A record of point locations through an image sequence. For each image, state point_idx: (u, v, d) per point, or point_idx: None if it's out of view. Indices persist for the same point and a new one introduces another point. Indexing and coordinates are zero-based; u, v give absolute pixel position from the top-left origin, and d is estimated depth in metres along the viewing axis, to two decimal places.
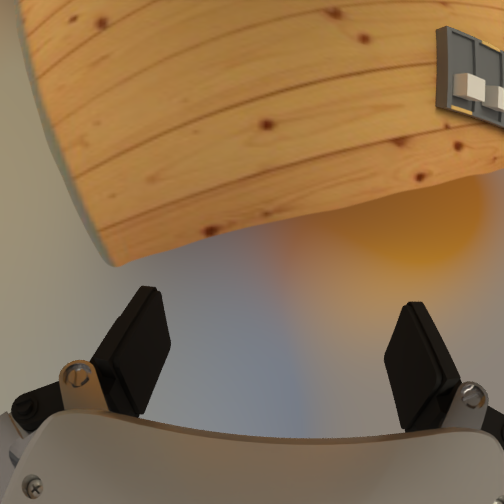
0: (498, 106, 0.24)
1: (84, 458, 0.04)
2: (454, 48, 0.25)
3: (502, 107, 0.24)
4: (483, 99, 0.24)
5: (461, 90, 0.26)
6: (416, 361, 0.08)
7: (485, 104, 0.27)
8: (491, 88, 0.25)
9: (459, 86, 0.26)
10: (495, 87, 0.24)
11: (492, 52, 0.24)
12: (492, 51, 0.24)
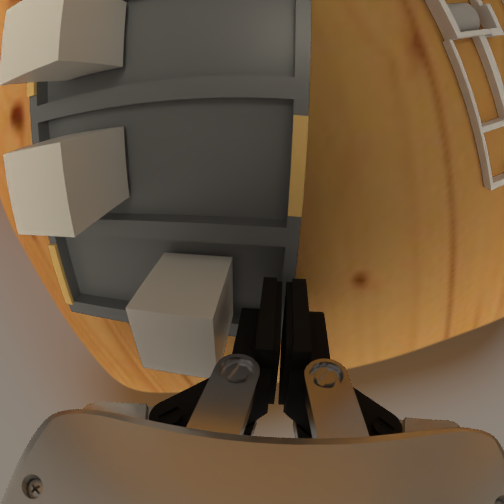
0: (6, 157, 0.07)
1: (84, 458, 0.04)
2: (229, 1, 0.08)
3: (10, 178, 0.07)
4: (4, 77, 0.06)
5: None
6: (284, 334, 0.10)
7: (57, 137, 0.10)
8: (82, 135, 0.08)
9: None
10: (69, 139, 0.07)
11: (280, 185, 0.11)
12: (284, 185, 0.11)
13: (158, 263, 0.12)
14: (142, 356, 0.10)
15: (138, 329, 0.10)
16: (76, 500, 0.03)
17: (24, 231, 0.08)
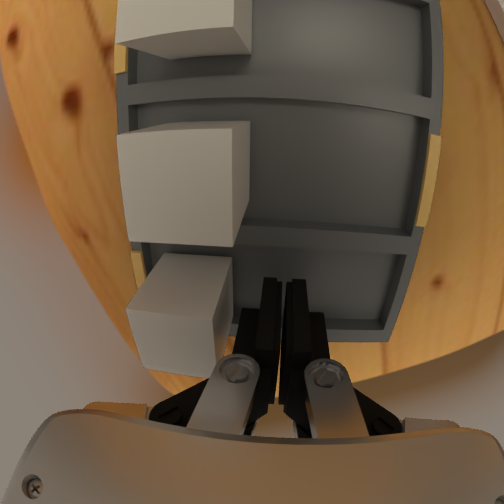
0: (122, 139, 0.07)
1: (84, 458, 0.04)
2: (365, 10, 0.08)
3: (127, 168, 0.07)
4: (124, 33, 0.05)
5: None
6: (284, 334, 0.10)
7: (164, 124, 0.09)
8: (227, 124, 0.08)
9: None
10: (227, 126, 0.07)
11: (403, 195, 0.11)
12: (407, 196, 0.11)
13: (158, 263, 0.12)
14: (142, 356, 0.10)
15: (138, 330, 0.10)
16: (76, 500, 0.03)
17: (141, 238, 0.08)
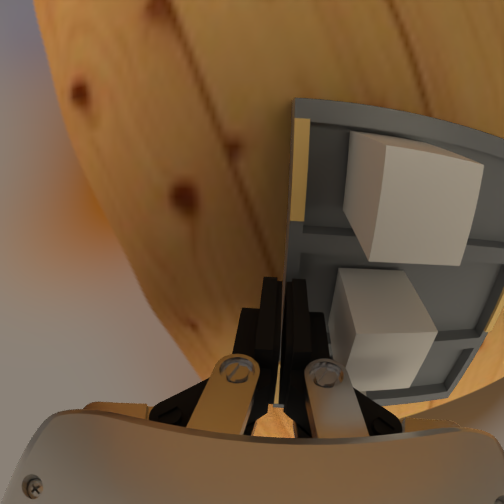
0: (360, 336, 0.09)
1: (84, 458, 0.04)
2: (493, 172, 0.10)
3: (357, 353, 0.09)
4: (379, 254, 0.07)
5: (390, 141, 0.07)
6: (284, 334, 0.10)
7: (346, 280, 0.11)
8: (413, 302, 0.10)
9: (401, 141, 0.08)
10: (425, 318, 0.09)
11: (479, 309, 0.13)
12: (482, 309, 0.13)
13: None
14: None
15: None
16: (76, 500, 0.03)
17: None
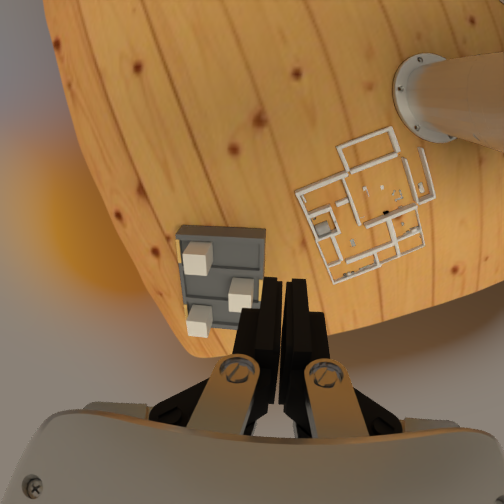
0: (229, 294, 0.40)
1: (84, 458, 0.04)
2: (243, 246, 0.41)
3: (230, 299, 0.40)
4: (186, 272, 0.39)
5: (190, 248, 0.39)
6: (284, 334, 0.10)
7: (233, 281, 0.42)
8: (249, 287, 0.41)
9: (195, 247, 0.39)
10: (249, 291, 0.40)
11: (257, 291, 0.44)
12: (258, 292, 0.44)
13: (191, 308, 0.45)
14: (188, 332, 0.44)
15: (188, 325, 0.43)
16: (76, 500, 0.03)
17: (231, 310, 0.41)
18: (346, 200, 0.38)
